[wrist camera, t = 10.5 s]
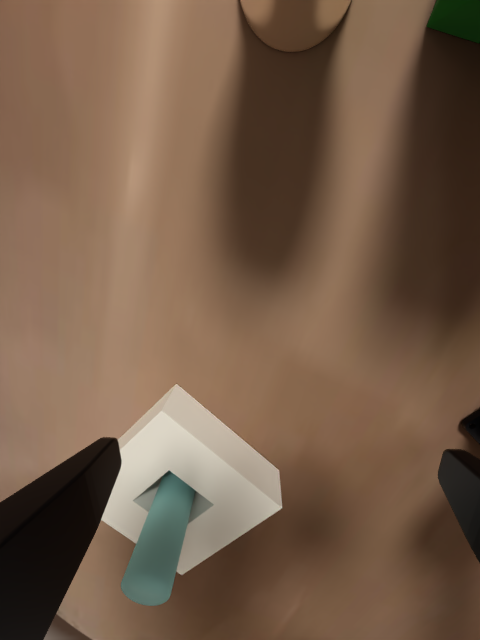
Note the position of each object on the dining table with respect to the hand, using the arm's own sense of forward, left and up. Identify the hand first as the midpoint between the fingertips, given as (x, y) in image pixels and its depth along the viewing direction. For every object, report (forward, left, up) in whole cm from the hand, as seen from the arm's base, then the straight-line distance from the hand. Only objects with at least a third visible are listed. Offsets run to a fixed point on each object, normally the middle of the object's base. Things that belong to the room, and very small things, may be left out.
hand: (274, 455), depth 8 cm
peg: (-5, +15, -13) cm, 20 cm away
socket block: (-5, +15, -13) cm, 20 cm away
